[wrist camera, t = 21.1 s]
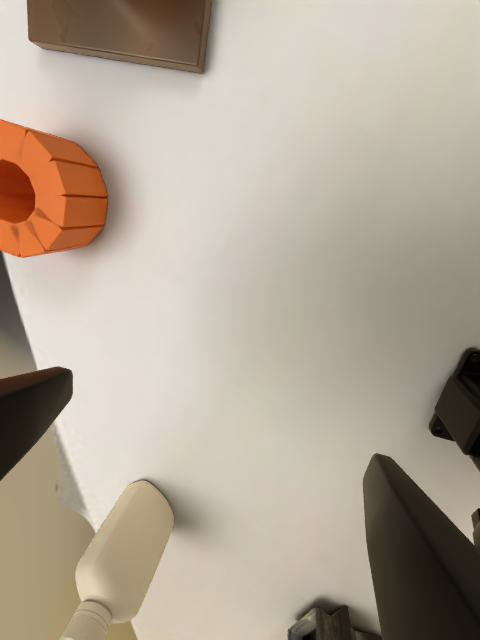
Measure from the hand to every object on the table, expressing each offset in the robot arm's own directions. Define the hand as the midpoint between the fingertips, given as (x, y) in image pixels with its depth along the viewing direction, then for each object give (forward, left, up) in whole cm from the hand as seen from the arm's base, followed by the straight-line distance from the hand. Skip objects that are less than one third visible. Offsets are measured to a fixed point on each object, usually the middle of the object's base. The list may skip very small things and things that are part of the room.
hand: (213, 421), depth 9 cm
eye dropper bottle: (+6, +21, -13) cm, 26 cm away
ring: (+15, -4, -13) cm, 20 cm away
